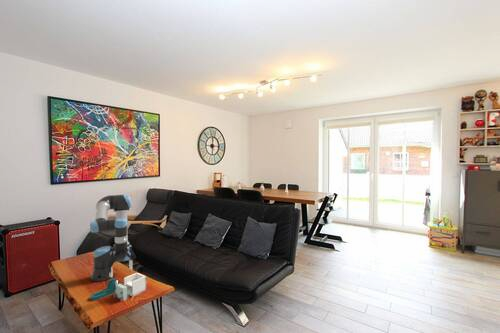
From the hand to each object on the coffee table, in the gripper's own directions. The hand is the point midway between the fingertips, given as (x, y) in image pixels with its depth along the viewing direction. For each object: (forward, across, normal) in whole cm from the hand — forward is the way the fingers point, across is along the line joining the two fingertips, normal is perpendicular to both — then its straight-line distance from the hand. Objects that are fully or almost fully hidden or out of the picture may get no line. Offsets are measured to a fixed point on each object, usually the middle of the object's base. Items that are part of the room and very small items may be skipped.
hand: (121, 272), depth 166 cm
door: (+17, 0, -1) cm, 17 cm away
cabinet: (+17, +10, 0) cm, 19 cm away
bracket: (+17, -4, +13) cm, 22 cm away
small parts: (+17, 0, +1) cm, 17 cm away
